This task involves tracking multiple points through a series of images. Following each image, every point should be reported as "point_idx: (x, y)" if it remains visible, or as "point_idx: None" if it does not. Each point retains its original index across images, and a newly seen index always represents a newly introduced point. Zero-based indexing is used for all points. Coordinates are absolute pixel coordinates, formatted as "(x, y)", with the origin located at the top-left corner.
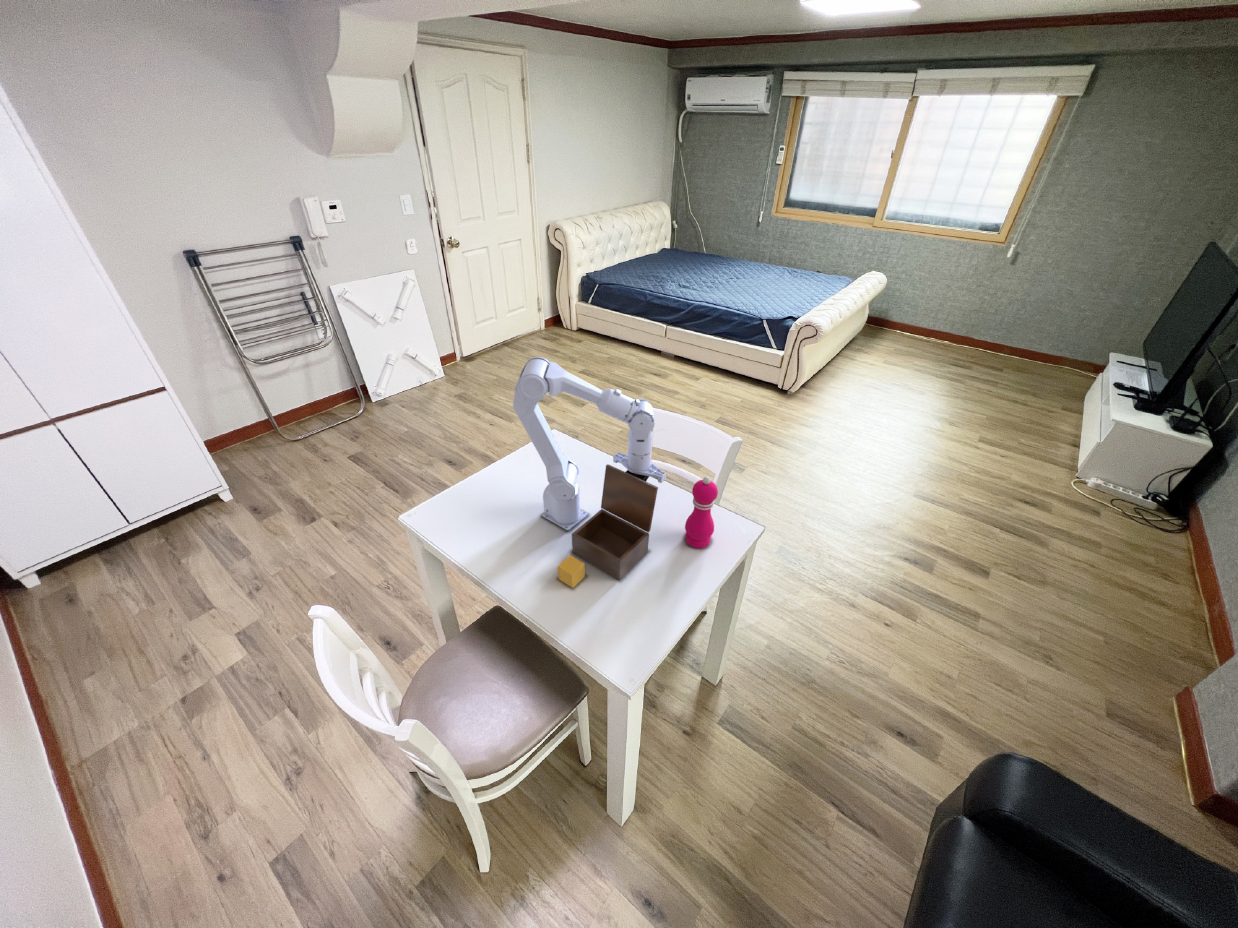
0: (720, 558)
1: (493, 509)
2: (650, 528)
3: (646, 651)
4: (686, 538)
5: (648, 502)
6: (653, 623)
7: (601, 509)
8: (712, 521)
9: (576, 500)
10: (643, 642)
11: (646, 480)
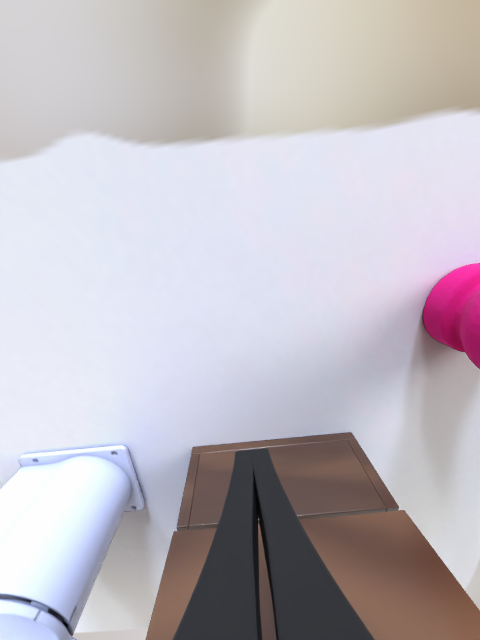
0: None
1: None
2: (415, 525)
3: (461, 566)
4: (443, 343)
5: None
6: (452, 534)
7: (179, 530)
8: None
9: (82, 588)
10: (450, 560)
11: (326, 571)
